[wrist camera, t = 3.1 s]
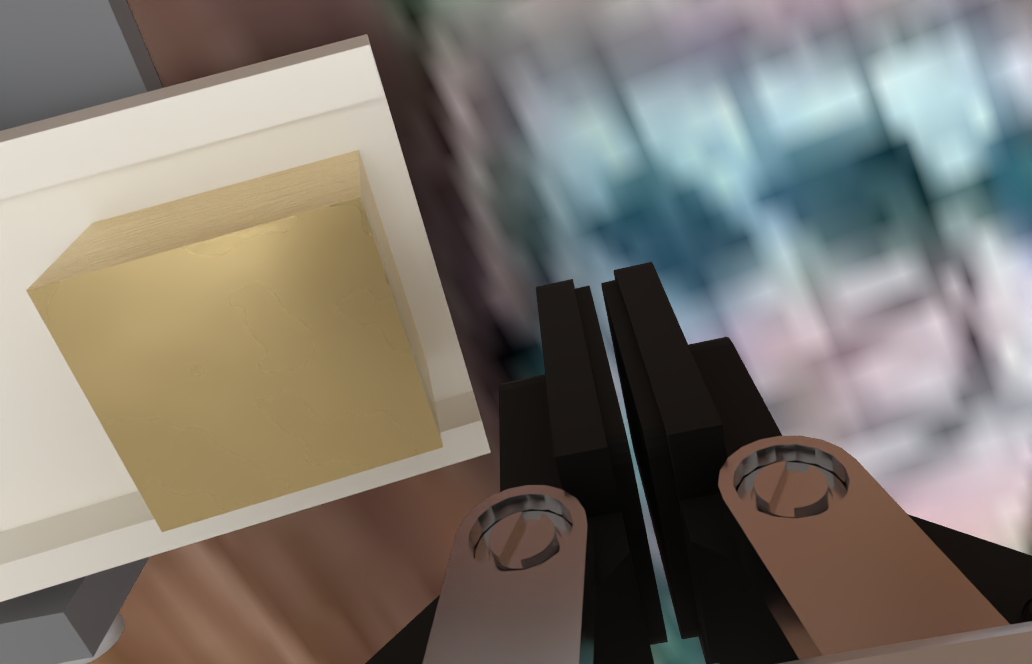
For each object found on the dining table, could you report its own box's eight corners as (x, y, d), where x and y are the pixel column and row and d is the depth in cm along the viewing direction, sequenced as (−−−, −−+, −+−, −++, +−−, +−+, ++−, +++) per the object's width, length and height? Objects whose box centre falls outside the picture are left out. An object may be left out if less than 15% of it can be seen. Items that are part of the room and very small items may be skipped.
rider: (358, 149, 18) (360, 196, 14) (427, 361, 20) (443, 446, 17) (92, 222, 17) (26, 290, 14) (195, 430, 20) (161, 532, 16)
